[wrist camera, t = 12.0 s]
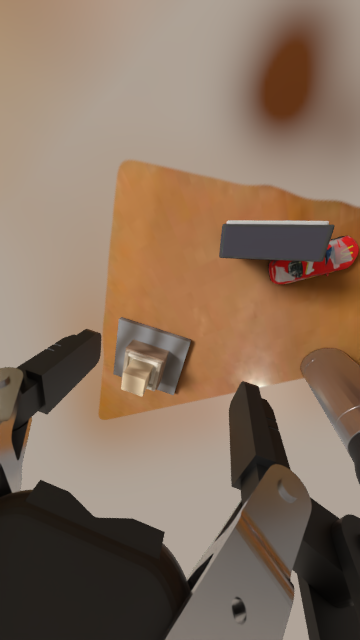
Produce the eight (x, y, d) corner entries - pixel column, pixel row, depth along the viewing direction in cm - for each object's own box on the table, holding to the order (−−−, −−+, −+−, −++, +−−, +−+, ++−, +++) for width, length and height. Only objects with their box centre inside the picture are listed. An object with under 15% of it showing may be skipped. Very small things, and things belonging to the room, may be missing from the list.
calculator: (289, 225, 31) (340, 215, 18) (283, 252, 33) (324, 262, 19) (222, 224, 33) (223, 215, 20) (220, 249, 35) (219, 257, 21)
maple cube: (153, 365, 43) (145, 380, 38) (150, 380, 45) (142, 396, 40) (133, 358, 43) (123, 372, 39) (131, 374, 45) (121, 389, 41)
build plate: (191, 339, 44) (186, 354, 38) (174, 391, 52) (168, 410, 46) (121, 317, 45) (107, 328, 40) (115, 371, 53) (103, 386, 48)
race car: (352, 231, 30) (370, 230, 26) (352, 264, 32) (369, 268, 28) (265, 256, 34) (270, 258, 30) (269, 284, 36) (275, 290, 32)
